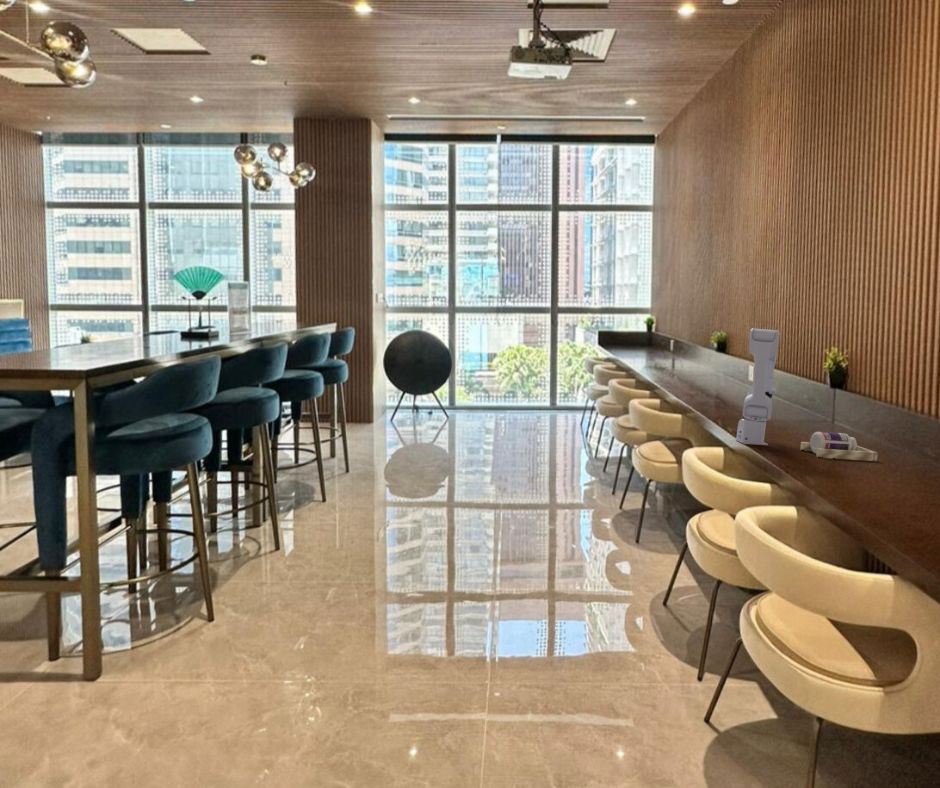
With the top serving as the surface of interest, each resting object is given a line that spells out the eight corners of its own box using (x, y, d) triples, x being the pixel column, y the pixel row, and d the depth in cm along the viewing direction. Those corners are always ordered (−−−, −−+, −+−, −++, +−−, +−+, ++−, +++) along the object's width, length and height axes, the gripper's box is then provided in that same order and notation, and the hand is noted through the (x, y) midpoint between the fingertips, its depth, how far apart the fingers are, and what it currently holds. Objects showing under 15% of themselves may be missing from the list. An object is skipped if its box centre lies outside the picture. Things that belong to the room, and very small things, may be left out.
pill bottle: (809, 454, 285) (845, 457, 287) (821, 452, 277) (859, 455, 279) (808, 432, 286) (844, 435, 288) (821, 430, 278) (858, 432, 280)
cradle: (818, 457, 275) (819, 449, 275) (800, 449, 288) (801, 441, 288) (876, 461, 277) (877, 452, 277) (855, 453, 290) (857, 445, 289)
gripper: (762, 378, 299) (758, 413, 301) (785, 378, 307) (780, 412, 309) (746, 375, 305) (742, 410, 307) (769, 375, 313) (765, 409, 315)
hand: (760, 411), depth 308 cm, fingers closed
